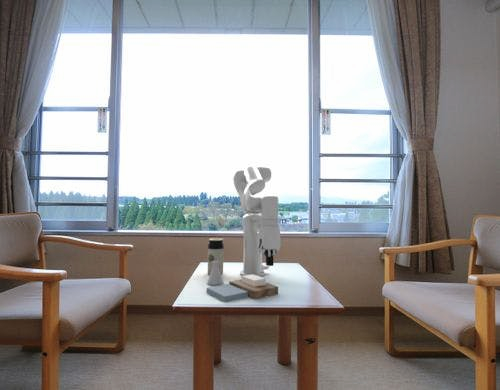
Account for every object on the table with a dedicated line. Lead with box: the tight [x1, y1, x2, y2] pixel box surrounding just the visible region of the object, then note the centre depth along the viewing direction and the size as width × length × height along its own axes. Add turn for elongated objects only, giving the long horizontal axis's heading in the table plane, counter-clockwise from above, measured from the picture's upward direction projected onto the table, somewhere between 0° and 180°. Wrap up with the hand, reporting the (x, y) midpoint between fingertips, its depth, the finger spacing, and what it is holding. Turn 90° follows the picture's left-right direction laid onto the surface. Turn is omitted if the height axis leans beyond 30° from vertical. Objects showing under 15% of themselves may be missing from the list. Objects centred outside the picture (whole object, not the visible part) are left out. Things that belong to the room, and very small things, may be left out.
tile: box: [241, 274, 267, 287], centre depth 131 cm, size 6×9×2 cm, turn 37°
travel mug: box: [207, 237, 224, 276], centre depth 160 cm, size 8×8×18 cm
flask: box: [206, 261, 224, 287], centre depth 141 cm, size 7×7×10 cm
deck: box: [228, 278, 279, 300], centre depth 130 cm, size 12×18×3 cm, turn 37°
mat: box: [206, 283, 249, 303], centre depth 124 cm, size 11×14×2 cm
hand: (269, 265), depth 135 cm, fingers closed
